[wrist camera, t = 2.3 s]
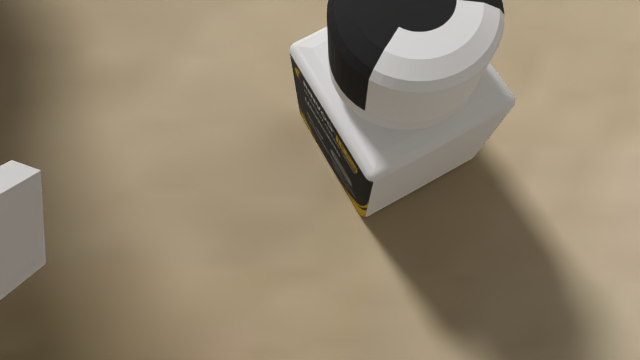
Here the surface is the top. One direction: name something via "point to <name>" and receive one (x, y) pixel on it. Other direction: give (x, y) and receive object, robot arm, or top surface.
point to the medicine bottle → (400, 91)
